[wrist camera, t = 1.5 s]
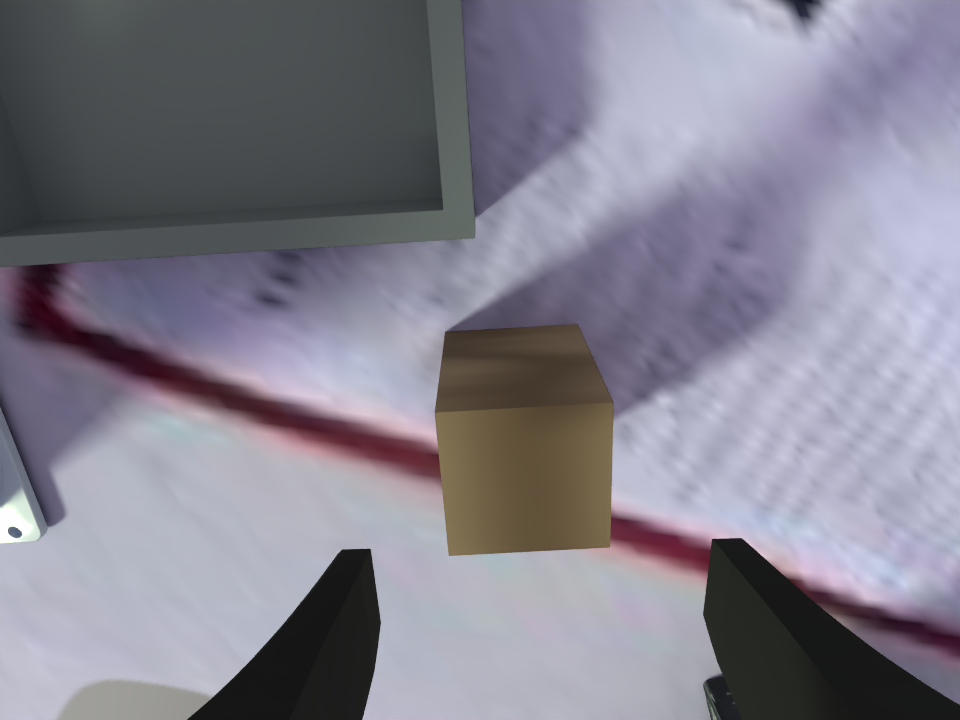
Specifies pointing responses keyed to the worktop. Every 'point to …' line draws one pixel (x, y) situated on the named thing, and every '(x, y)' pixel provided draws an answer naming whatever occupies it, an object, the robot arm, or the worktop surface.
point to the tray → (230, 127)
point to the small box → (720, 700)
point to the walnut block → (523, 441)
